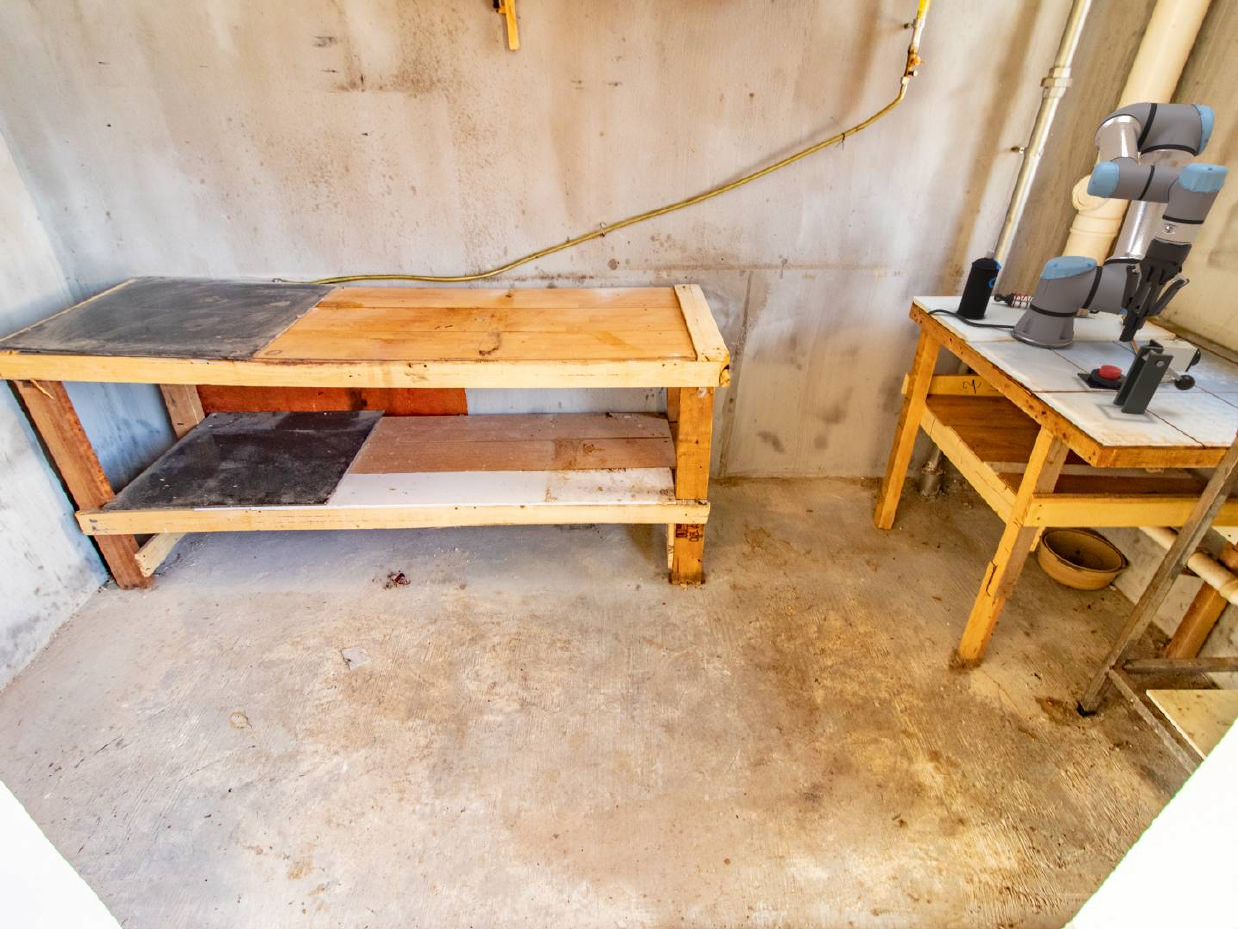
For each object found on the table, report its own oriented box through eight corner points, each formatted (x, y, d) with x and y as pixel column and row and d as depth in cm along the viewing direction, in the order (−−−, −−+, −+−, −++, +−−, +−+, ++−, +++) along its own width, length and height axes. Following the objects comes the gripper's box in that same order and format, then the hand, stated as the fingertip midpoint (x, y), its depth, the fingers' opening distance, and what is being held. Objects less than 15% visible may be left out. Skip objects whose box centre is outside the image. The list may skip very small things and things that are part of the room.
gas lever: (1177, 389, 150) (1193, 377, 148) (1186, 396, 147) (1202, 384, 145) (1137, 357, 147) (1152, 345, 145) (1145, 364, 144) (1160, 352, 142)
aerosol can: (956, 317, 204) (977, 252, 193) (955, 309, 210) (975, 246, 199) (985, 321, 202) (1007, 256, 191) (983, 312, 208) (1004, 249, 197)
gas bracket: (1138, 408, 155) (1171, 346, 146) (1153, 422, 149) (1188, 359, 141) (1098, 404, 156) (1127, 343, 148) (1111, 418, 151) (1142, 355, 142)
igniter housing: (1116, 382, 167) (1123, 369, 165) (1131, 396, 160) (1138, 383, 158) (1074, 378, 168) (1080, 366, 166) (1088, 392, 162) (1094, 379, 160)
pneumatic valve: (1184, 389, 164) (1208, 345, 158) (1134, 386, 165) (1156, 341, 159) (1171, 380, 169) (1195, 336, 162) (1123, 376, 170) (1144, 333, 163)
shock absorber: (995, 296, 211) (1102, 310, 201) (996, 286, 214) (1103, 300, 203) (990, 307, 215) (1096, 321, 205) (992, 298, 218) (1096, 311, 207)
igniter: (1113, 373, 164) (1117, 365, 163) (1121, 380, 161) (1125, 373, 159) (1094, 371, 165) (1098, 364, 164) (1102, 379, 161) (1106, 371, 160)
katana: (1136, 366, 178) (1140, 357, 176) (1119, 320, 203) (1123, 312, 202) (1142, 367, 177) (1146, 358, 176) (1124, 321, 203) (1128, 312, 201)
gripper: (1132, 234, 148) (1089, 332, 161) (1193, 249, 138) (1141, 352, 151) (1154, 232, 151) (1109, 329, 163) (1215, 246, 141) (1162, 348, 153)
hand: (1125, 340), depth 157 cm, fingers closed
